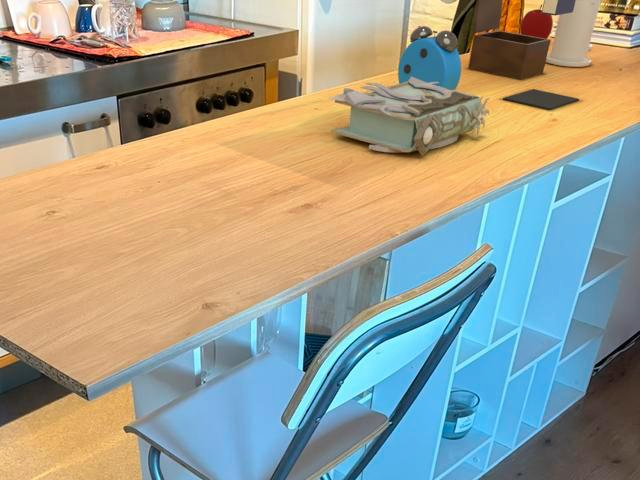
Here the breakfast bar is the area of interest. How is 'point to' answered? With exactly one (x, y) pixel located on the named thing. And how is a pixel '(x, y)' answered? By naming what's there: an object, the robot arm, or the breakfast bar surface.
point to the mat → (541, 99)
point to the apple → (537, 24)
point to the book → (558, 7)
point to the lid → (487, 15)
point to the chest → (509, 54)
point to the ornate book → (410, 116)
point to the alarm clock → (431, 58)
